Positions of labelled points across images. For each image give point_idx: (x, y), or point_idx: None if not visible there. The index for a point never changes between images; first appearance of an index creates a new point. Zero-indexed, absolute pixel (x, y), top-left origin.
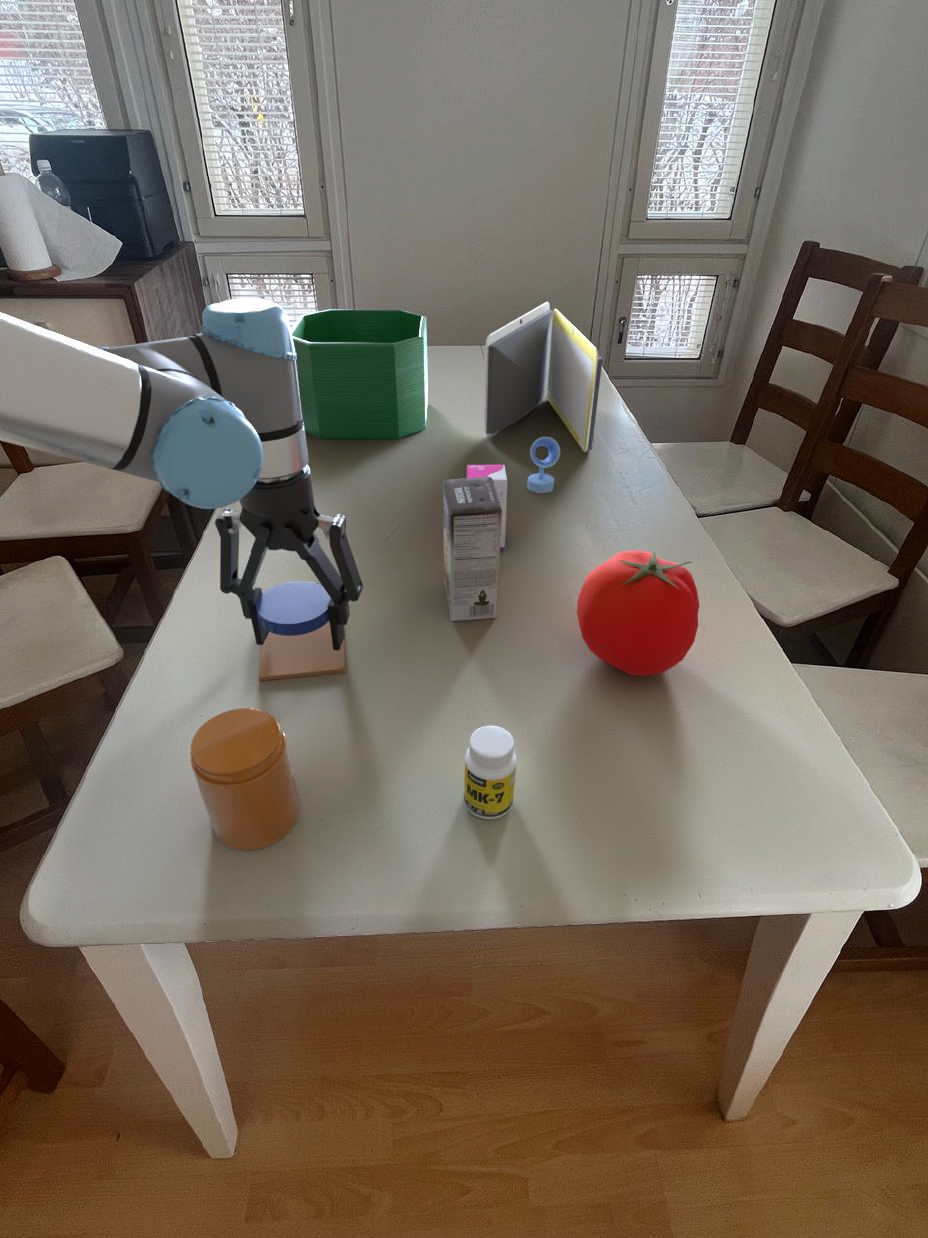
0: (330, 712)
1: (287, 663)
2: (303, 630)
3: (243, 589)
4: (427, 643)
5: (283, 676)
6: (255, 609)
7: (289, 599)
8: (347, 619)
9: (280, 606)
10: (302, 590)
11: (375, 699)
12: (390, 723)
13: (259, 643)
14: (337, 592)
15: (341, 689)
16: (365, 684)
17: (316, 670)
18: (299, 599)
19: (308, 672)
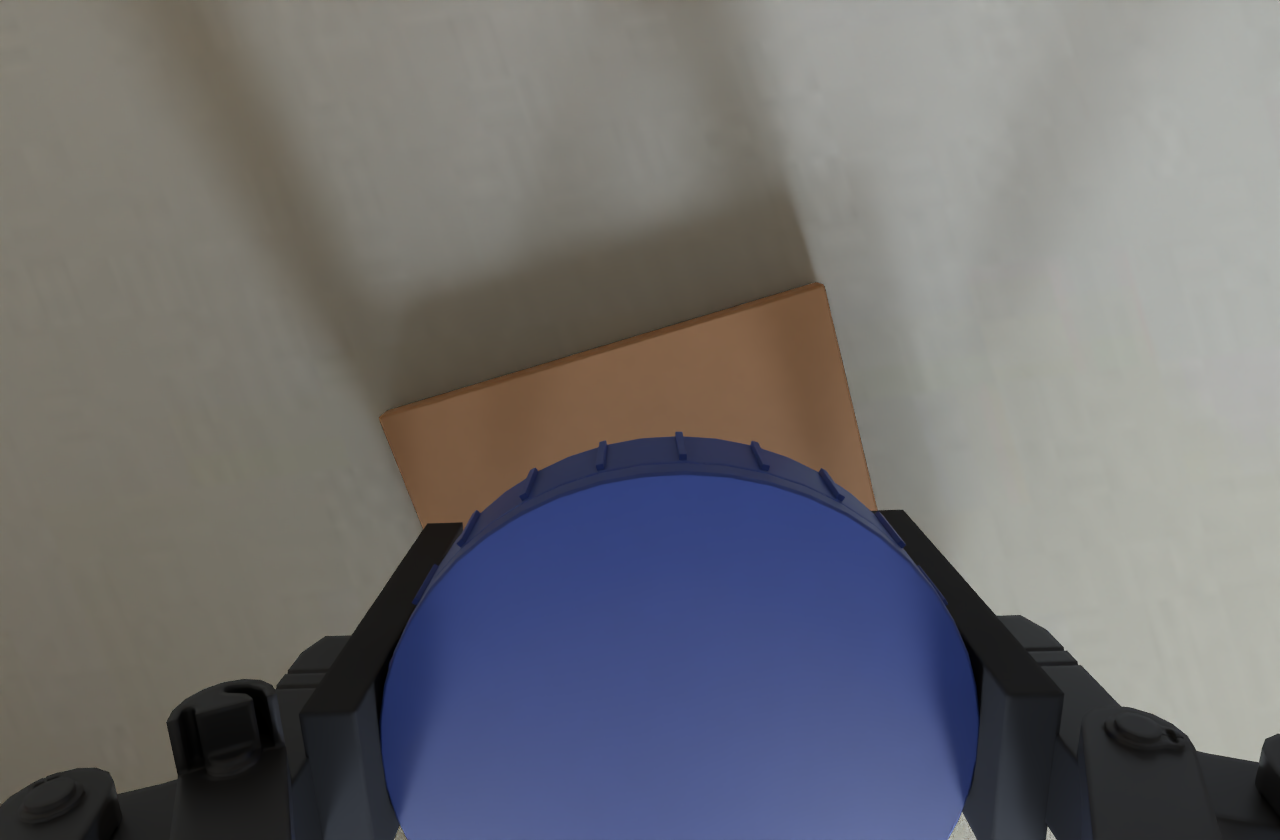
0: (358, 93)
1: (699, 415)
2: (528, 477)
3: (1148, 780)
4: (58, 671)
5: (692, 320)
6: (969, 648)
7: (727, 774)
8: (297, 668)
9: (771, 685)
10: None
11: (159, 228)
12: (9, 51)
13: (888, 513)
14: (175, 832)
15: (363, 280)
16: (253, 335)
17: (526, 383)
18: (648, 782)
19: (563, 361)
